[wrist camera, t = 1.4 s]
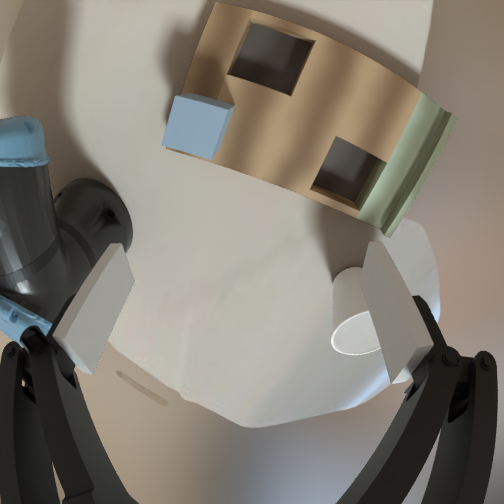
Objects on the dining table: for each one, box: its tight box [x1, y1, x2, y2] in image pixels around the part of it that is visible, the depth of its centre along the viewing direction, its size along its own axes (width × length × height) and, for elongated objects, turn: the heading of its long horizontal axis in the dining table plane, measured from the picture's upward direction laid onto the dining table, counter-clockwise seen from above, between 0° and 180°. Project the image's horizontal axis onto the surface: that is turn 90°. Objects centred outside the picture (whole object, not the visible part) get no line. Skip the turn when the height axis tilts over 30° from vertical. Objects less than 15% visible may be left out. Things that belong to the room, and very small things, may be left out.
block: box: [162, 93, 235, 160], centre depth 24 cm, size 5×5×5 cm
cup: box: [330, 267, 381, 355], centre depth 37 cm, size 10×10×11 cm
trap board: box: [166, 2, 457, 238], centre depth 26 cm, size 29×18×4 cm, turn 70°
